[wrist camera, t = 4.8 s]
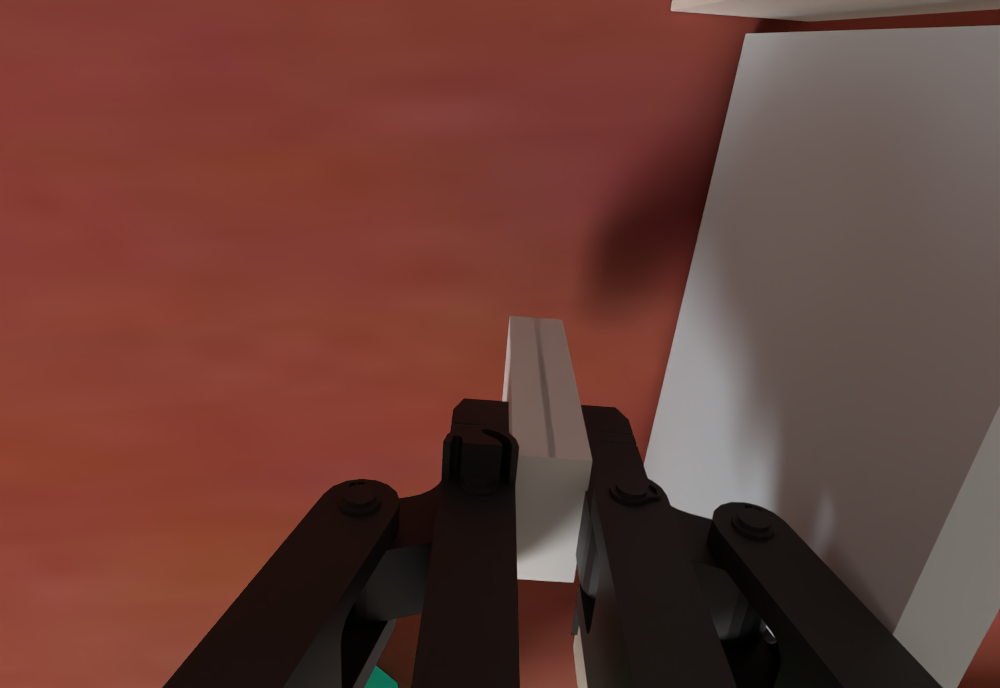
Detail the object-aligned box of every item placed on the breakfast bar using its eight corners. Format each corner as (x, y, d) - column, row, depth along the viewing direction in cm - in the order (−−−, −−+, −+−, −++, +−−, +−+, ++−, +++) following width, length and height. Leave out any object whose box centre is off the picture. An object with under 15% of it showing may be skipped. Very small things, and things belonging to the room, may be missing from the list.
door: (745, 33, 17) (1178, 18, 6) (855, 47, 17) (1478, 57, 6) (625, 543, 23) (729, 985, 12) (705, 551, 24) (878, 996, 13)
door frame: (696, -159, 16) (1540, -1049, 3) (847, -146, 16) (2326, -963, 3) (573, 646, 26) (638, 1242, 13) (665, 651, 26) (821, 1249, 13)
